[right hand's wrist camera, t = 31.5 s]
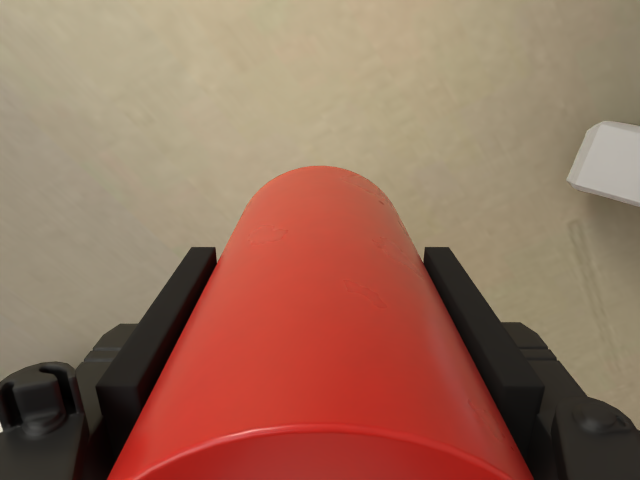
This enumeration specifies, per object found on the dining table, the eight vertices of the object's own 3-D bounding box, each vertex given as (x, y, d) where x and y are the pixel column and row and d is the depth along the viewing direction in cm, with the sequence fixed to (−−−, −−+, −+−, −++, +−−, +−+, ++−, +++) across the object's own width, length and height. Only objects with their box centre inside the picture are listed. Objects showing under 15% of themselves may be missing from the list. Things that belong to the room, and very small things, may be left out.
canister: (342, 129, 16) (407, 320, 4) (434, 266, 18) (652, 657, 6) (201, 228, 17) (-48, 581, 6) (301, 345, 19) (272, 787, 8)
